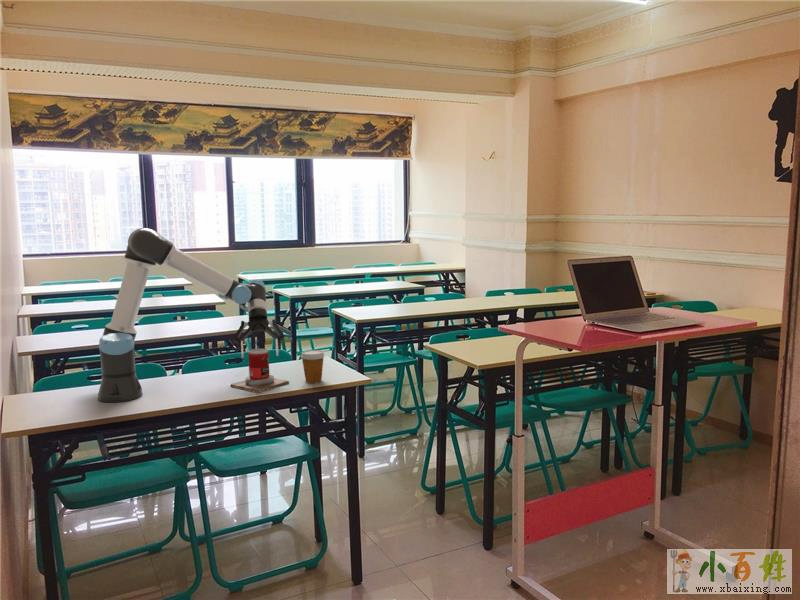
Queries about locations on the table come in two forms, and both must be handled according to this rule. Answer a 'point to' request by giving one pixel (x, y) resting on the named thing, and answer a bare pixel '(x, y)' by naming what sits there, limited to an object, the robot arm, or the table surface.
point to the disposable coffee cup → (313, 365)
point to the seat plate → (258, 388)
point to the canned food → (258, 364)
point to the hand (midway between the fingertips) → (260, 355)
